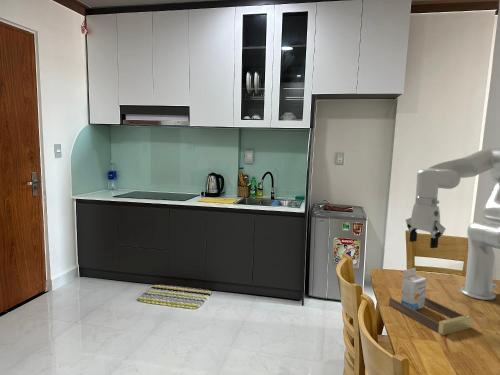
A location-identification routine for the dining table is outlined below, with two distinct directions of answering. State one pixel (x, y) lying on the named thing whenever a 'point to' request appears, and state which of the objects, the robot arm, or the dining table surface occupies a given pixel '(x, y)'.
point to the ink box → (413, 290)
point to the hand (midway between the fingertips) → (423, 244)
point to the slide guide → (443, 327)
